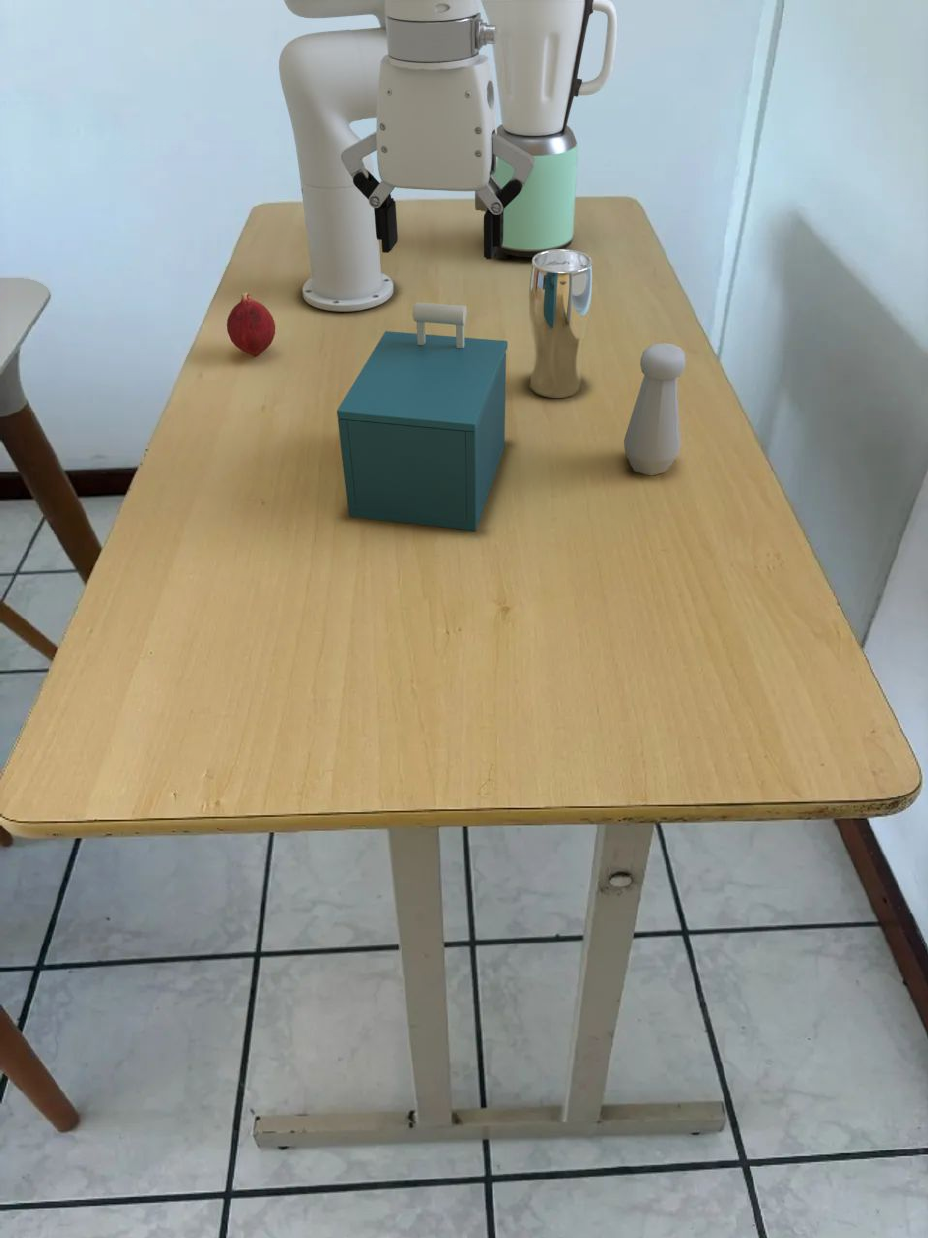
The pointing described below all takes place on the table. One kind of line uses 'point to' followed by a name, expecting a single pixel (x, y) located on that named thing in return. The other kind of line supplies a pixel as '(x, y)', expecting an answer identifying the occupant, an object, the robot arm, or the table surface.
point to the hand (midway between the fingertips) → (440, 250)
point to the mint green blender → (542, 112)
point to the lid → (426, 375)
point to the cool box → (424, 467)
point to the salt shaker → (656, 411)
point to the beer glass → (559, 319)
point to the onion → (250, 326)
